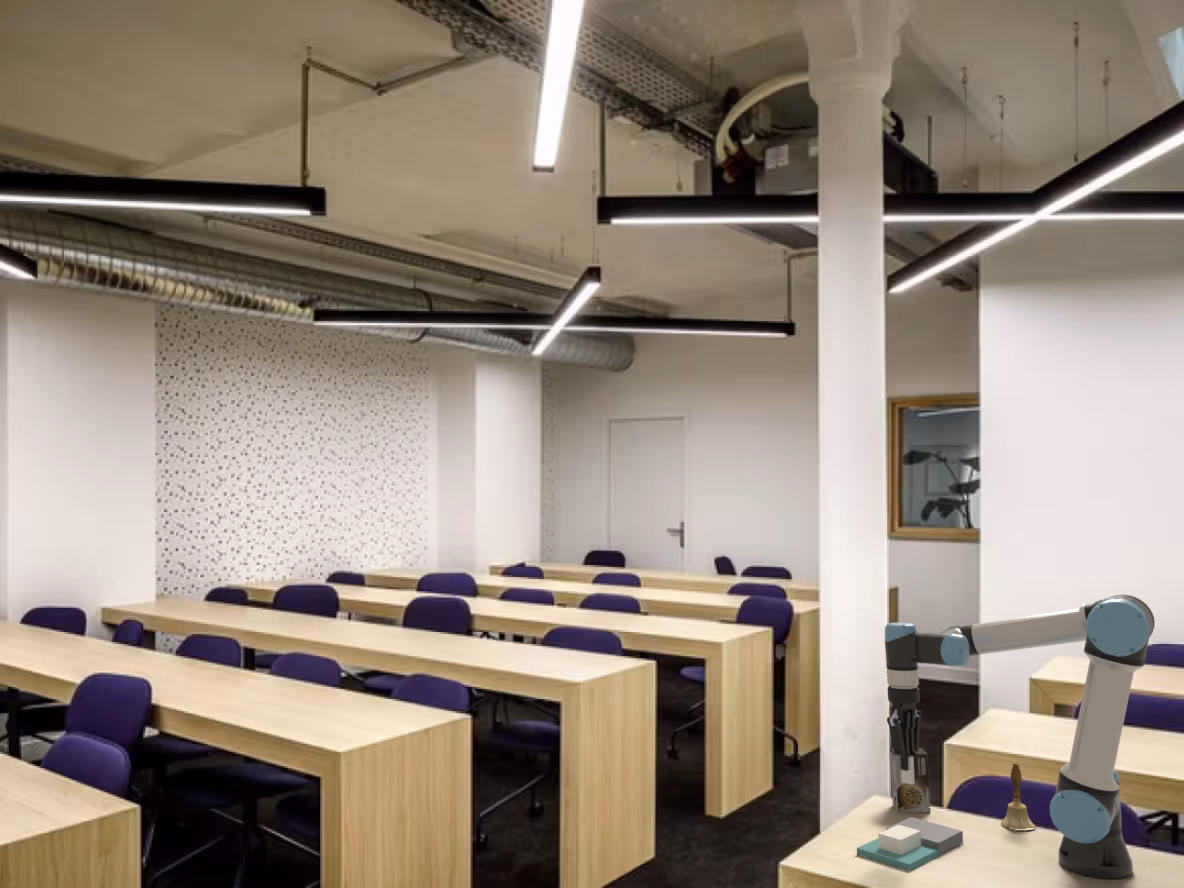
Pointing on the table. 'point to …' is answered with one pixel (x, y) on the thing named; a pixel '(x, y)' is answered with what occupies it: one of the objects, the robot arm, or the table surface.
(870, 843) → the mat
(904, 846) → the white rectangular block
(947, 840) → the plate
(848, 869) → the table surface
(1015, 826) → the hand bell
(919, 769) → the coffee box
